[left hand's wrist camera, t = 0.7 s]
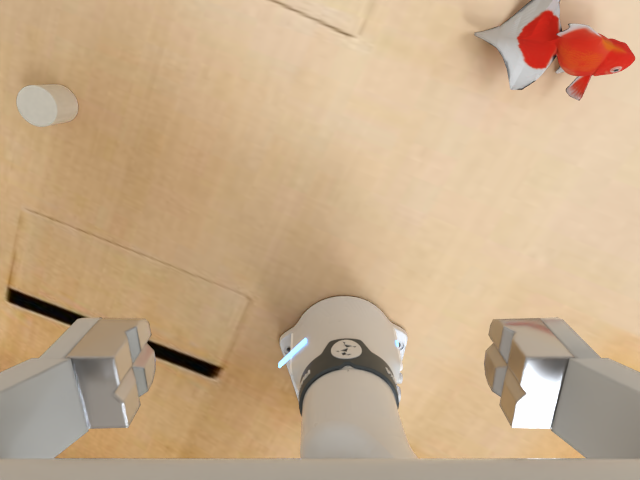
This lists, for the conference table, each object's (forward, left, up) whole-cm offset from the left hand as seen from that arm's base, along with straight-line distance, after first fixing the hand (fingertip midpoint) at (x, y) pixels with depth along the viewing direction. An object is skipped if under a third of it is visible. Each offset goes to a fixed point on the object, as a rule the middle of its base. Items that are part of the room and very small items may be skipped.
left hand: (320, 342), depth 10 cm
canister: (+4, +31, -46) cm, 55 cm away
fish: (+7, -25, -46) cm, 52 cm away
